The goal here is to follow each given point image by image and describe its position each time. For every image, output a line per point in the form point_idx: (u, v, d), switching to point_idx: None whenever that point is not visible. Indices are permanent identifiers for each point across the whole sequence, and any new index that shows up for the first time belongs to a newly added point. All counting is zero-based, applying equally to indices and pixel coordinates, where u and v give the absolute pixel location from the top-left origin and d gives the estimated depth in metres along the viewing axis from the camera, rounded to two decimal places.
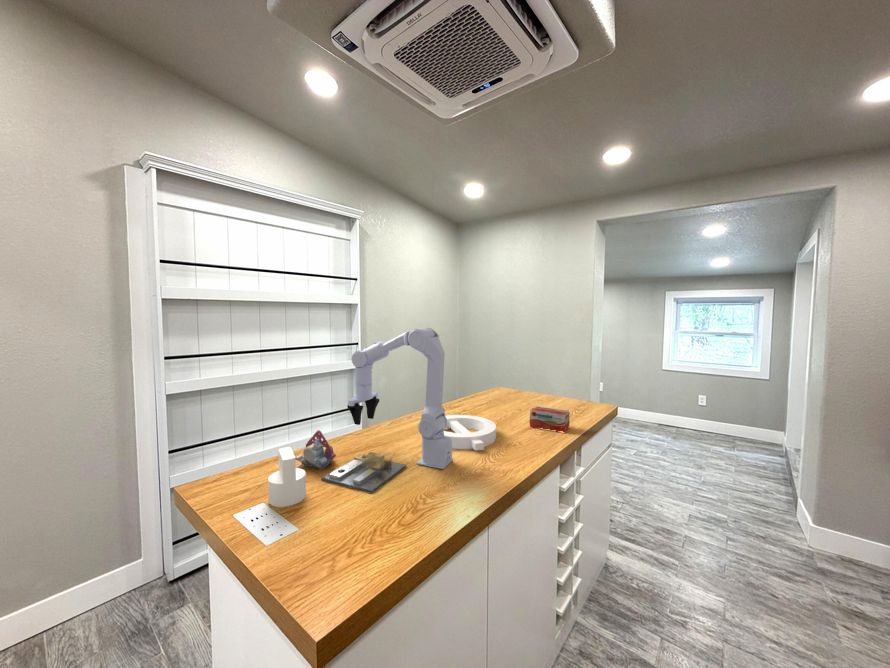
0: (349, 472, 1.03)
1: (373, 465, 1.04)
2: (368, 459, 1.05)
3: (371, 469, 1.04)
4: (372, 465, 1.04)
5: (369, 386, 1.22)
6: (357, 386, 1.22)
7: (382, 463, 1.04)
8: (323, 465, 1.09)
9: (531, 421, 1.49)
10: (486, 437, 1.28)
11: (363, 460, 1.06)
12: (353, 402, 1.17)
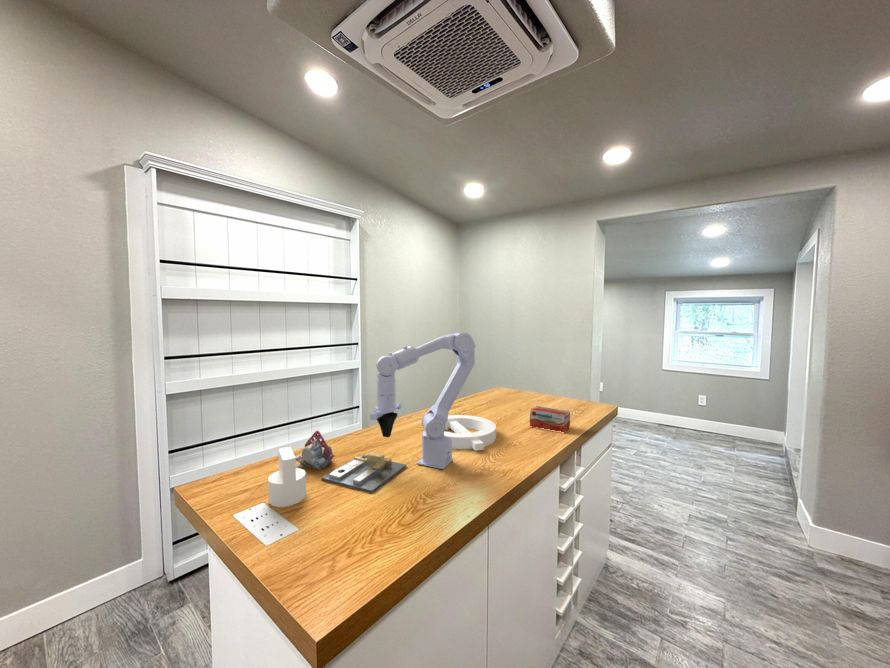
0: (349, 472, 1.03)
1: (373, 465, 1.04)
2: (368, 459, 1.05)
3: (371, 469, 1.04)
4: (372, 465, 1.04)
5: (393, 397, 1.08)
6: (379, 397, 1.07)
7: (382, 463, 1.04)
8: (322, 465, 1.08)
9: (531, 421, 1.49)
10: (486, 437, 1.28)
11: (363, 460, 1.06)
12: (376, 415, 1.03)
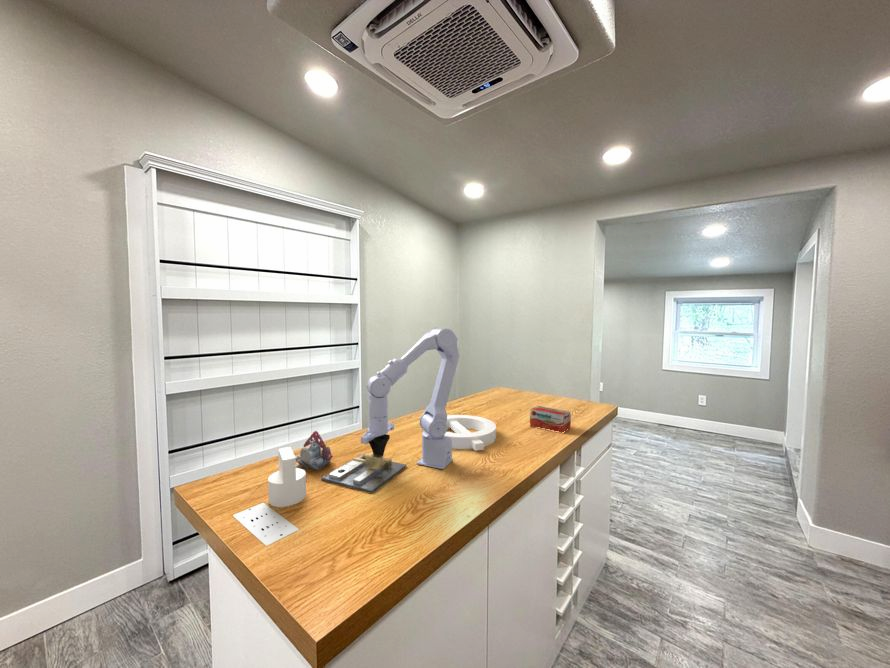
0: (349, 472, 1.03)
1: (372, 466, 1.04)
2: (367, 460, 1.04)
3: (371, 469, 1.04)
4: (371, 466, 1.04)
5: (385, 419, 1.04)
6: (371, 419, 1.03)
7: (381, 464, 1.03)
8: (320, 466, 1.08)
9: (531, 420, 1.50)
10: (486, 437, 1.28)
11: (362, 461, 1.06)
12: (367, 439, 0.99)
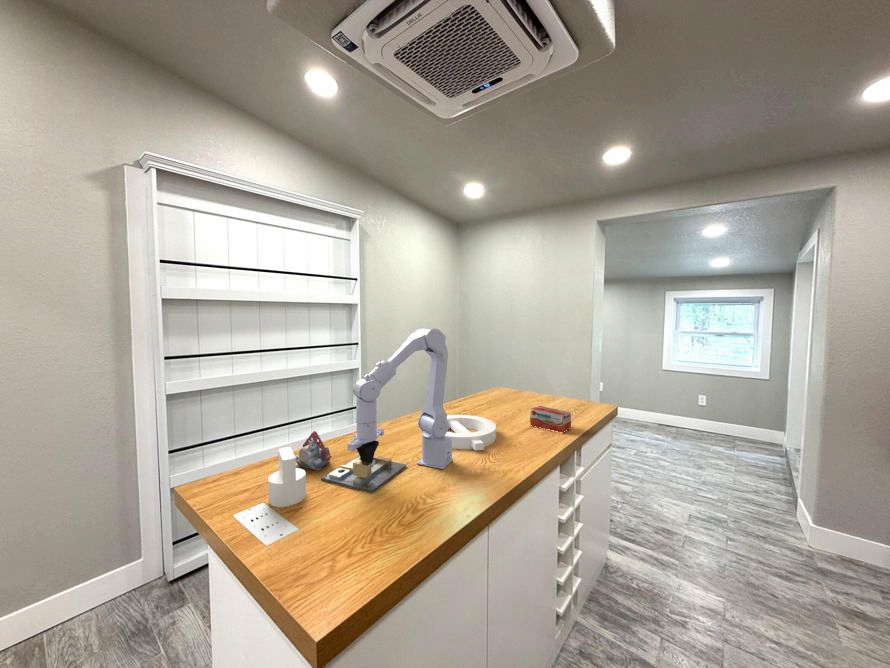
0: (349, 472, 1.03)
1: (359, 474, 0.98)
2: (354, 468, 0.99)
3: None
4: (358, 474, 0.98)
5: (373, 424, 0.99)
6: (359, 425, 0.98)
7: (369, 472, 0.98)
8: (318, 466, 1.08)
9: (531, 420, 1.51)
10: (486, 437, 1.28)
11: (349, 468, 1.01)
12: (354, 446, 0.94)
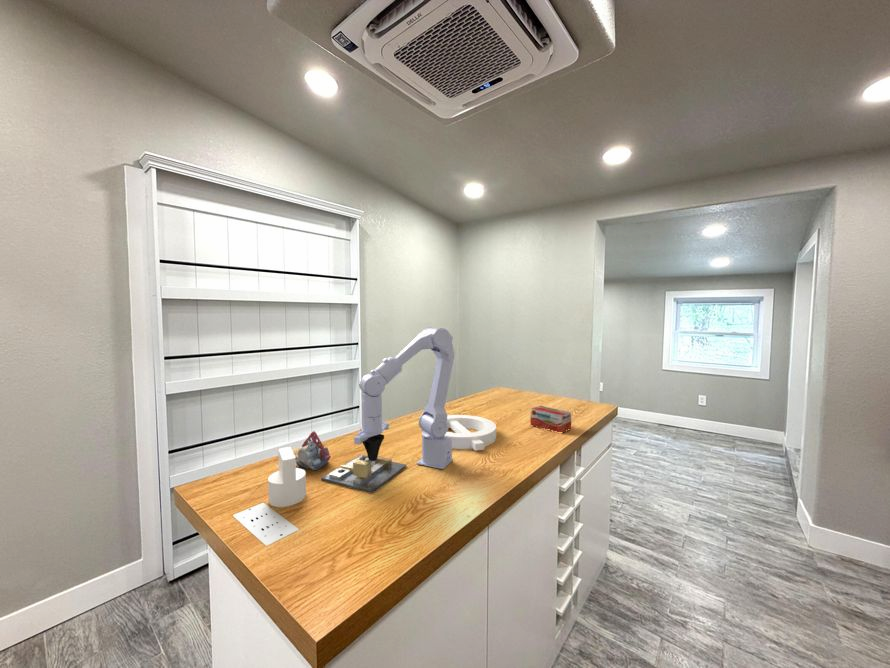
0: (349, 472, 1.03)
1: (359, 474, 0.98)
2: (354, 468, 0.99)
3: None
4: (358, 474, 0.98)
5: (379, 418, 1.01)
6: (364, 418, 1.01)
7: (369, 472, 0.98)
8: (317, 466, 1.07)
9: (531, 419, 1.51)
10: (486, 437, 1.28)
11: (349, 468, 1.01)
12: (360, 439, 0.97)
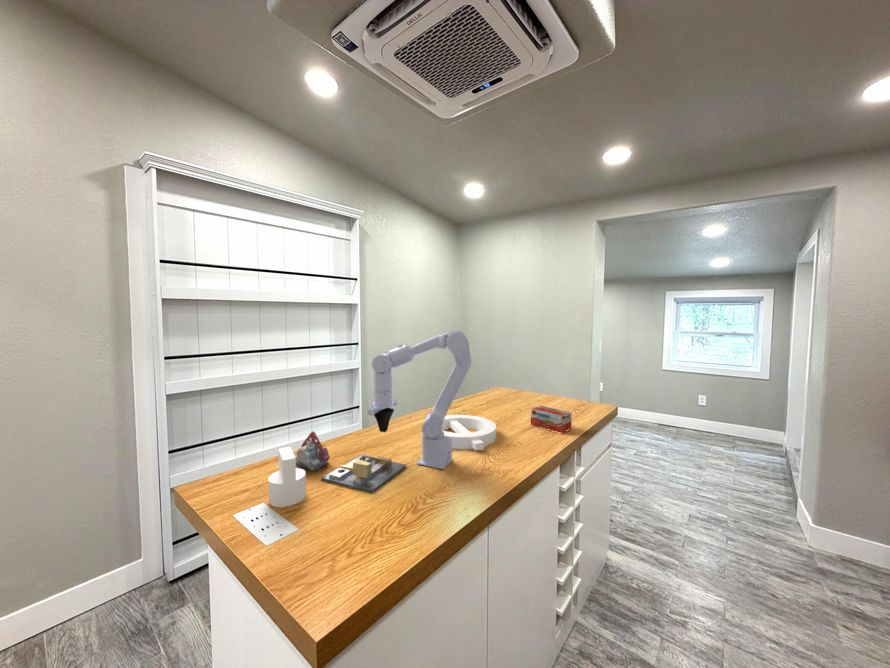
0: (349, 472, 1.03)
1: (359, 474, 0.98)
2: (354, 468, 0.99)
3: None
4: (358, 474, 0.98)
5: (389, 393, 1.12)
6: (376, 393, 1.11)
7: (369, 472, 0.98)
8: (316, 467, 1.07)
9: (531, 419, 1.51)
10: (486, 437, 1.28)
11: (349, 468, 1.01)
12: (373, 411, 1.07)
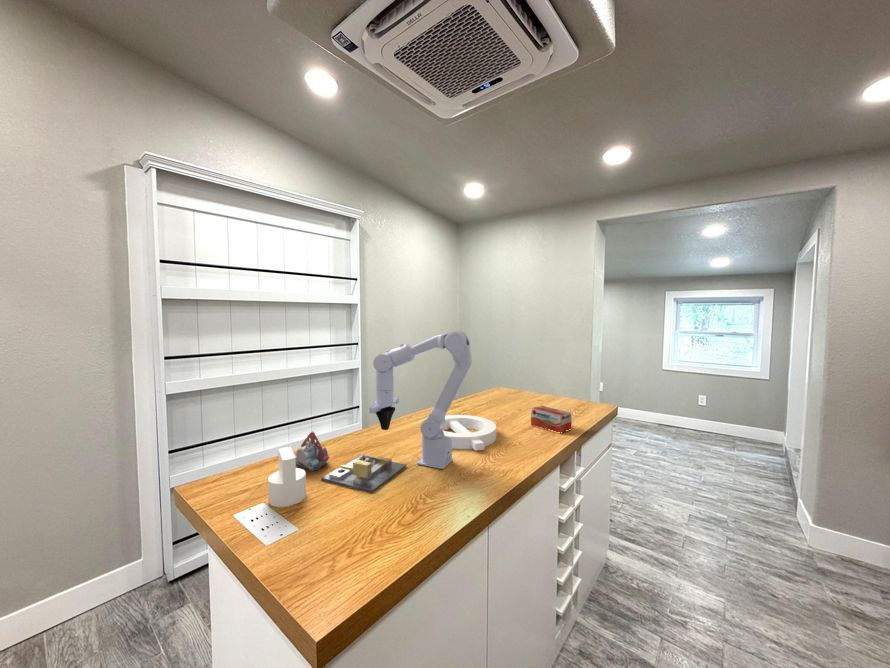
0: (349, 472, 1.03)
1: (359, 474, 0.98)
2: (354, 468, 0.99)
3: None
4: (358, 474, 0.98)
5: (391, 392, 1.14)
6: (378, 392, 1.13)
7: (369, 472, 0.98)
8: (315, 467, 1.07)
9: (532, 419, 1.51)
10: (486, 437, 1.28)
11: (349, 468, 1.01)
12: (375, 409, 1.09)
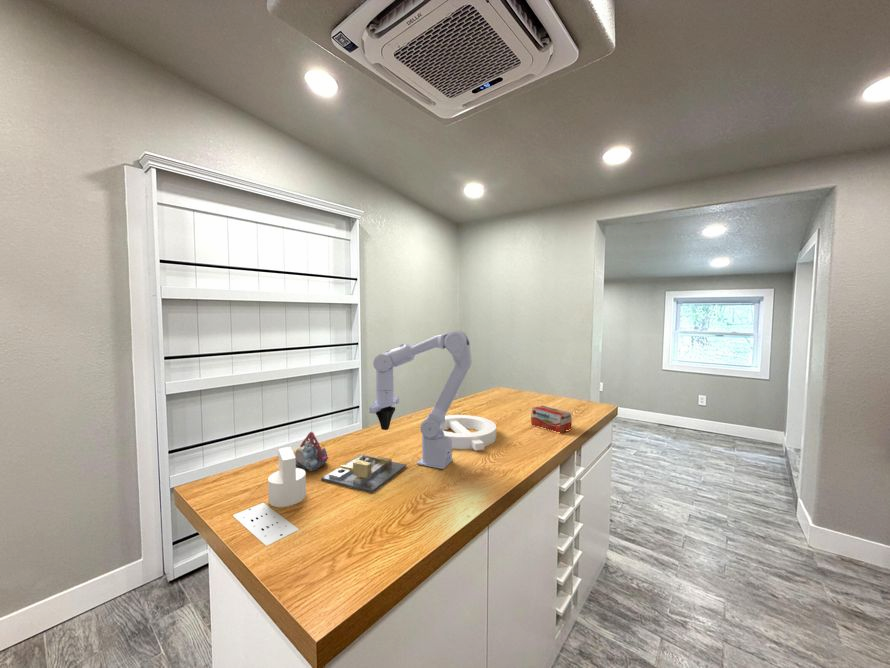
0: (349, 472, 1.03)
1: (359, 474, 0.98)
2: (354, 468, 0.99)
3: None
4: (358, 474, 0.98)
5: (391, 392, 1.14)
6: (378, 392, 1.13)
7: (369, 472, 0.98)
8: (314, 467, 1.07)
9: (532, 419, 1.52)
10: (486, 437, 1.28)
11: (349, 468, 1.01)
12: (375, 409, 1.09)
